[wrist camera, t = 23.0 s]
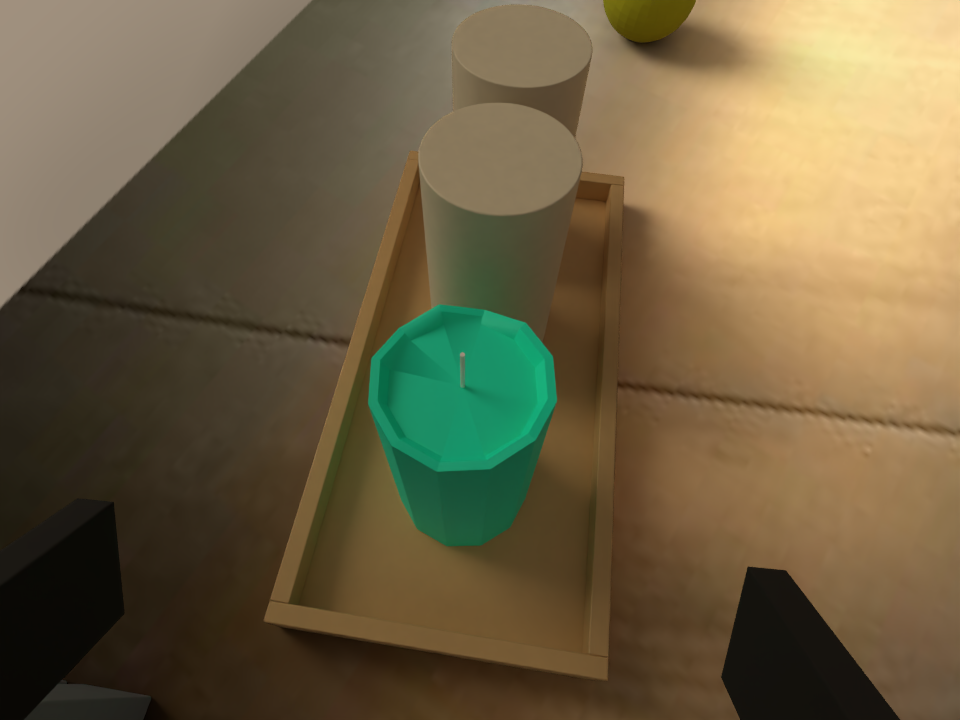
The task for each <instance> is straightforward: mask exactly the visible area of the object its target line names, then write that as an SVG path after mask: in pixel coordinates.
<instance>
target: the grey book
mask: <svg viewBox="0 0 960 720" xmlns="http://www.w3.org/2000/svg"><path fill="white" fill-rule="evenodd" d="M150 701H151V697H150V696H147V695H141V694H136V693H130V692H125V691H119V690H114V689H108V688H103V687H97V686H91V685H86V684H57V685H56V687H55V688H54V689H53V690H52V691H51V692H50V693H49V694H48V695H47V696H46V697H45V698H44V699H43V700H42V701H41V702H40V703H39V704H38V706H37V707H36V708H35V709H34V710H33V711H32V712H31V713H30V714H29V715H28V716H27V717H26V718H25V719H24V720H143V719H144V716H145V714H146V711H147V709H148V706H149V703H150Z"/></svg>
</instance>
